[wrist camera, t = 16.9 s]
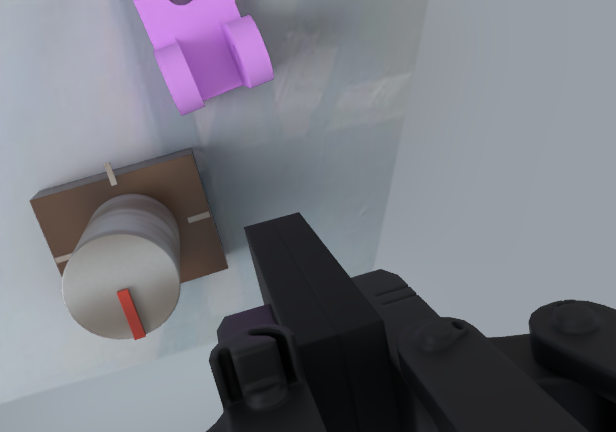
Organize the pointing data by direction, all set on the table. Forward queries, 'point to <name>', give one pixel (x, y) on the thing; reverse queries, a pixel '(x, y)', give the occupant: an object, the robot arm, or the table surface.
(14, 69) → the table surface
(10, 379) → the table surface
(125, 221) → the dial
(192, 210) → the panel
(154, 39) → the bracket
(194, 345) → the table surface
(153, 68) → the table surface
